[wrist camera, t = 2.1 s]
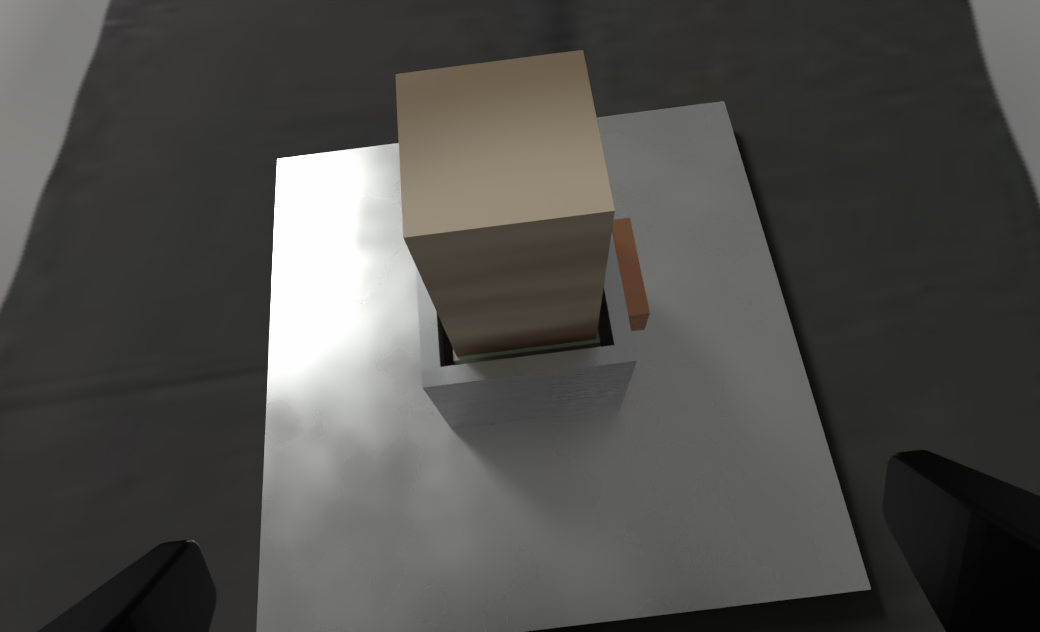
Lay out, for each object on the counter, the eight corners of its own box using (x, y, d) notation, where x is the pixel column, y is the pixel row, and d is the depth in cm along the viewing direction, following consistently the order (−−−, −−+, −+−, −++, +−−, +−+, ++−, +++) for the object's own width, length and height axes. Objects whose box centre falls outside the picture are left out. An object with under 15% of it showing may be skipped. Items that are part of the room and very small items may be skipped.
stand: (853, 588, 20) (968, 590, 14) (272, 660, 20) (160, 689, 14) (717, 121, 27) (758, -1, 21) (288, 176, 27) (218, 70, 21)
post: (592, 384, 21) (621, 214, 11) (472, 399, 21) (397, 243, 11) (575, 276, 23) (587, 45, 13) (462, 290, 23) (390, 71, 13)
